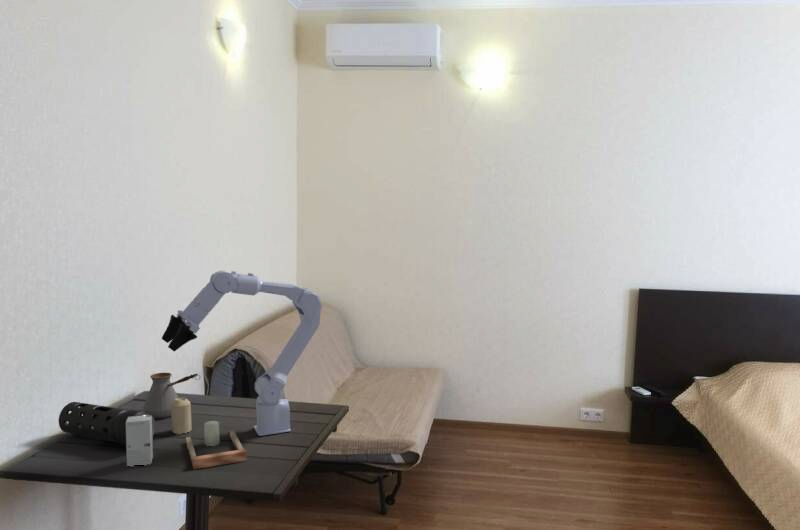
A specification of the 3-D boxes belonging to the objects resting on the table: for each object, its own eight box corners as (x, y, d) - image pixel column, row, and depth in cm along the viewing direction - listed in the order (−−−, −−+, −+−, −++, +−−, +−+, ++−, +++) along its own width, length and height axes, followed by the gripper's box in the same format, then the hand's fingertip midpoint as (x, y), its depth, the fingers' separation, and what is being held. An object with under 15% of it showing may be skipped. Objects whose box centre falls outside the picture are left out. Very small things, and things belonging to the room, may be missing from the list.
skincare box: (126, 467, 170) (124, 422, 169) (129, 460, 174) (127, 416, 173) (151, 465, 171) (149, 420, 170) (154, 458, 176) (152, 414, 175)
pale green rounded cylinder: (218, 440, 188) (217, 420, 188) (220, 445, 185) (219, 424, 184) (204, 442, 187) (203, 422, 186) (205, 447, 183) (205, 426, 183)
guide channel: (234, 435, 192) (234, 427, 192) (246, 460, 174) (246, 451, 174) (186, 442, 187) (185, 434, 187) (193, 469, 169) (193, 459, 168)
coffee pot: (135, 417, 209) (133, 370, 207) (163, 406, 219) (161, 362, 217) (186, 427, 200) (184, 378, 198) (213, 415, 210) (211, 369, 208)
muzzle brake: (86, 430, 198) (83, 396, 197) (158, 443, 187) (157, 407, 186) (58, 441, 189) (56, 406, 188) (133, 455, 178) (131, 418, 177)
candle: (185, 435, 193) (184, 401, 192) (168, 434, 194) (166, 400, 193) (195, 428, 198) (193, 396, 197) (178, 427, 199) (176, 395, 198)
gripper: (183, 291, 188) (150, 329, 186) (197, 304, 176) (162, 345, 174) (201, 306, 192) (169, 343, 189) (216, 319, 180) (183, 359, 177)
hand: (167, 344), depth 182 cm, fingers open, 7 cm apart
